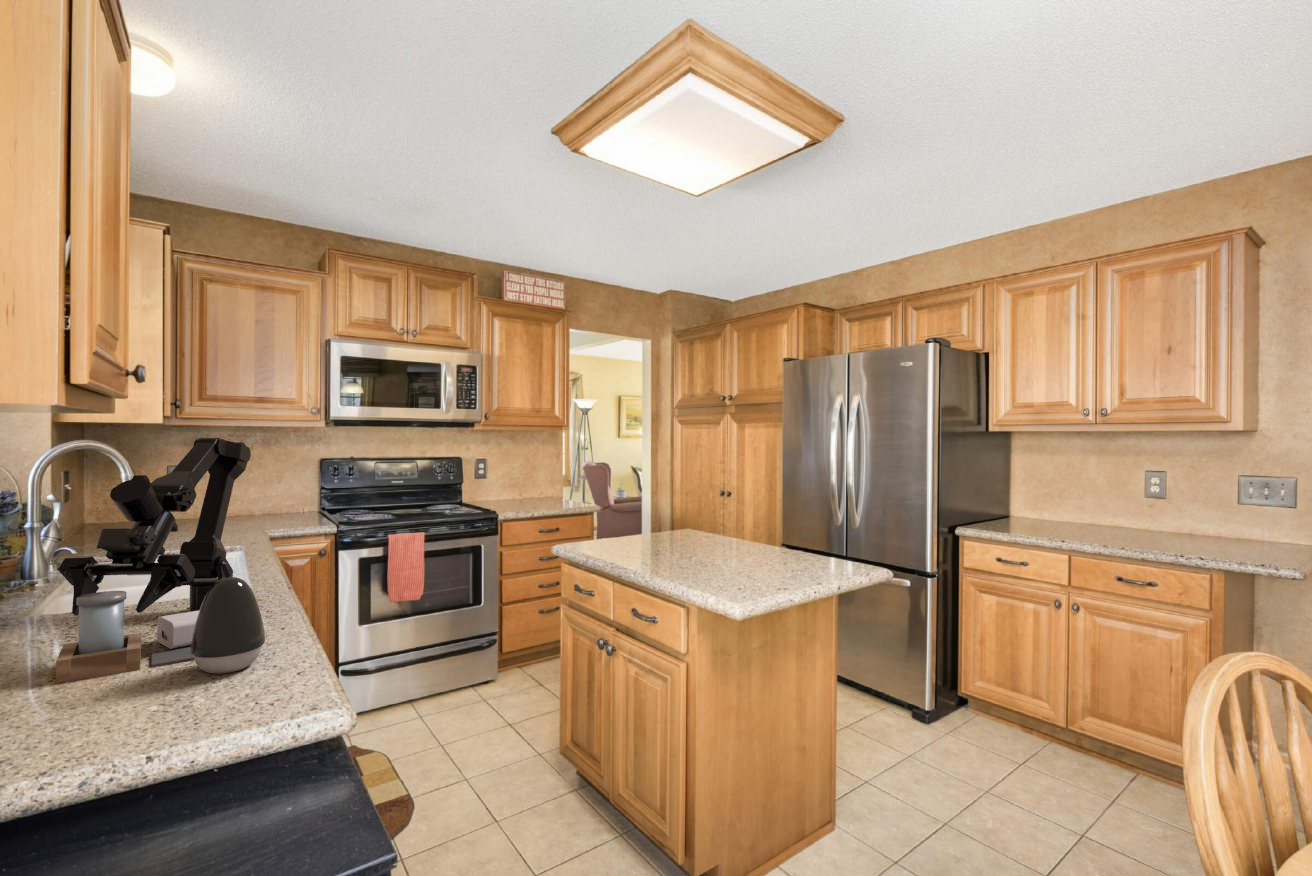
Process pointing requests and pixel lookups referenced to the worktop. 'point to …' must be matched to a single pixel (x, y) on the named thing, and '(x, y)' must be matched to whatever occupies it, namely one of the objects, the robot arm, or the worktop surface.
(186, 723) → the worktop surface
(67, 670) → the block
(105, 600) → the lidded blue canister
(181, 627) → the charger
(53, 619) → the worktop surface
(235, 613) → the dark egg-shaped device
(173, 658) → the rubber mat
